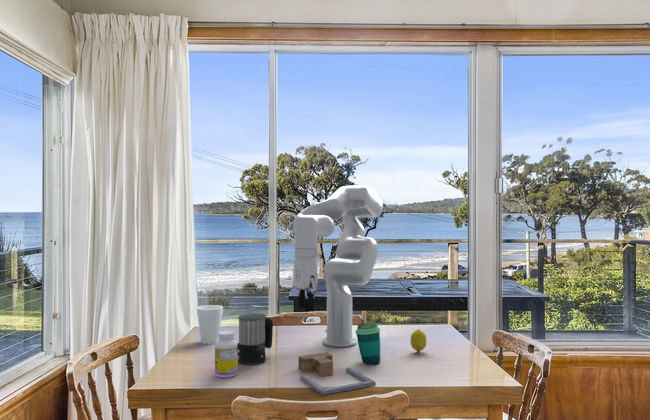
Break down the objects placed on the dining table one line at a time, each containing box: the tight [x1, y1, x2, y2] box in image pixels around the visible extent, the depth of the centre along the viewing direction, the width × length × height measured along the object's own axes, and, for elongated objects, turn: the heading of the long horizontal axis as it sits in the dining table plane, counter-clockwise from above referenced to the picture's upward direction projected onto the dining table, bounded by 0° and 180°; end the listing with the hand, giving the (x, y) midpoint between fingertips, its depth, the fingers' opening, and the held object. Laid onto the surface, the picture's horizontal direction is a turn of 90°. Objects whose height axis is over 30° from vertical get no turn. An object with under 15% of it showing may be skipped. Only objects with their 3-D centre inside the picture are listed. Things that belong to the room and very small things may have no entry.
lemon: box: [409, 328, 427, 353], centre depth 175 cm, size 6×6×8 cm
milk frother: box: [237, 312, 274, 365], centre depth 168 cm, size 14×16×15 cm
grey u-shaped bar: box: [299, 367, 377, 396], centre depth 145 cm, size 14×17×1 cm
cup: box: [355, 322, 381, 366], centre depth 164 cm, size 8×8×12 cm
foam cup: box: [196, 304, 224, 345], centre depth 189 cm, size 10×9×13 cm
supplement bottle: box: [214, 330, 238, 379], centre depth 151 cm, size 7×7×13 cm
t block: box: [297, 351, 334, 377], centre depth 155 cm, size 10×10×4 cm
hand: (305, 308), depth 164 cm, fingers open, 4 cm apart
